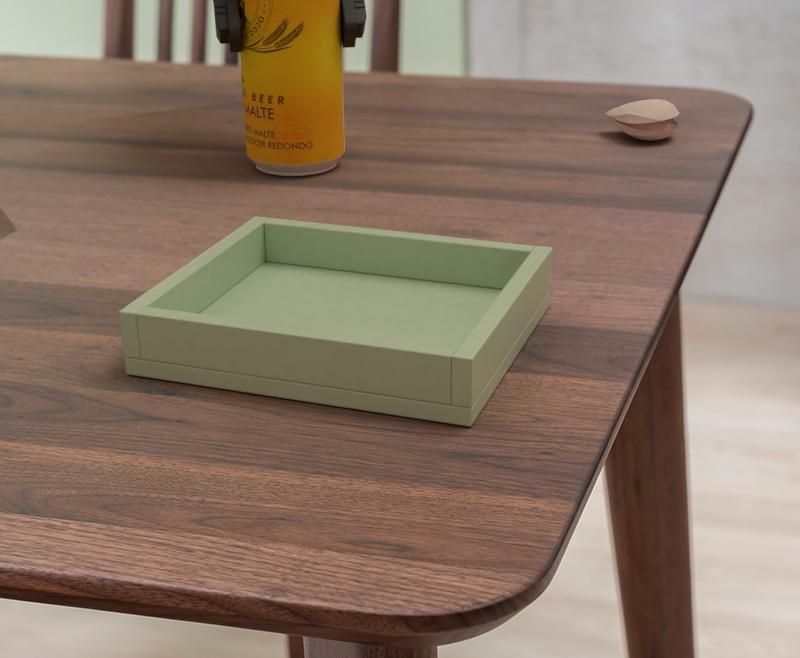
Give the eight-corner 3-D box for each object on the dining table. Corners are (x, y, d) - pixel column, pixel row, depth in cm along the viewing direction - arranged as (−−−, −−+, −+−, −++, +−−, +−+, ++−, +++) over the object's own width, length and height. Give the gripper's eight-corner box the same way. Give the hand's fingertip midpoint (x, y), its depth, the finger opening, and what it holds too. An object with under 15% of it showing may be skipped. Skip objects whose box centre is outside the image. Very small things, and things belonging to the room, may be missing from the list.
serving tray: (125, 374, 51) (117, 310, 50) (258, 270, 62) (255, 215, 60) (471, 427, 46) (472, 359, 45) (550, 305, 57) (553, 247, 56)
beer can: (233, 159, 79) (215, -95, 73) (321, 147, 82) (312, -100, 75) (268, 184, 74) (253, -86, 68) (361, 170, 77) (355, -92, 70)
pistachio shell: (660, 149, 81) (664, 110, 79) (590, 139, 83) (592, 100, 82) (686, 134, 84) (690, 96, 83) (618, 125, 86) (620, 88, 85)
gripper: (375, -146, 83) (407, 73, 78) (154, -142, 81) (171, 84, 76) (386, -237, 76) (422, -2, 71) (145, -235, 74) (163, 7, 69)
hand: (292, 41), depth 73 cm, fingers closed on beer can, 6 cm apart
